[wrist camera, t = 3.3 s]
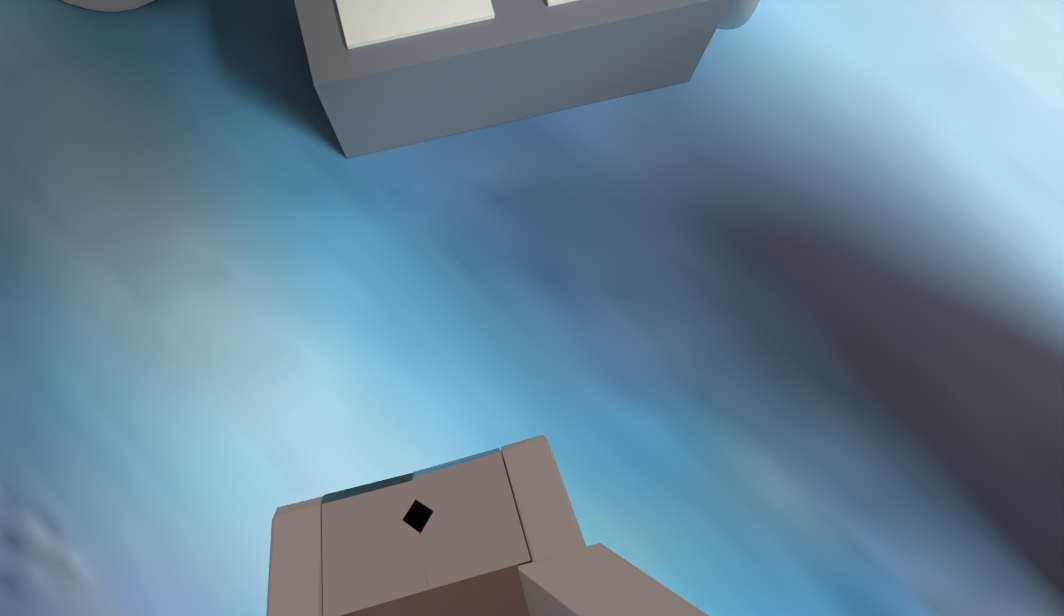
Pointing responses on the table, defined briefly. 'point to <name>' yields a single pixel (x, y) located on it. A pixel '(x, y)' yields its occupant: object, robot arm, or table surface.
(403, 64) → the box
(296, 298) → the table surface
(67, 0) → the coffee cup
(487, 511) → the robot arm
